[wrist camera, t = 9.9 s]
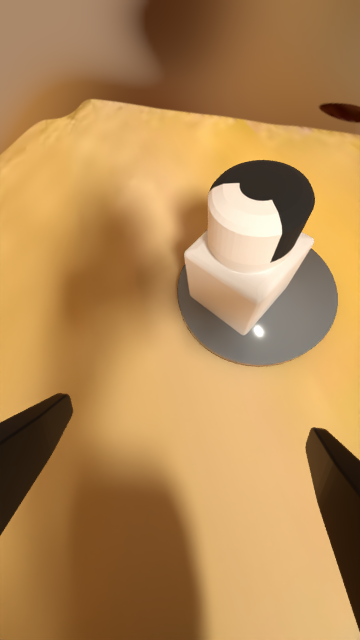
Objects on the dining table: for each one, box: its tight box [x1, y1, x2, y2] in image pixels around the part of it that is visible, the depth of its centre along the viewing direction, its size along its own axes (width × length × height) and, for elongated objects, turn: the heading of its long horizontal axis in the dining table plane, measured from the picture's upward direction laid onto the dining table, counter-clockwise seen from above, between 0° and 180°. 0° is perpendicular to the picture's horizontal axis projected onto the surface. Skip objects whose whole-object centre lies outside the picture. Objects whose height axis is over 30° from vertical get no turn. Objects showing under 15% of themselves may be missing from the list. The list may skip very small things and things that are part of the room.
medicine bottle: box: [184, 160, 315, 335], centre depth 18 cm, size 7×7×12 cm
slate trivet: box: [178, 249, 338, 367], centre depth 24 cm, size 16×16×2 cm
